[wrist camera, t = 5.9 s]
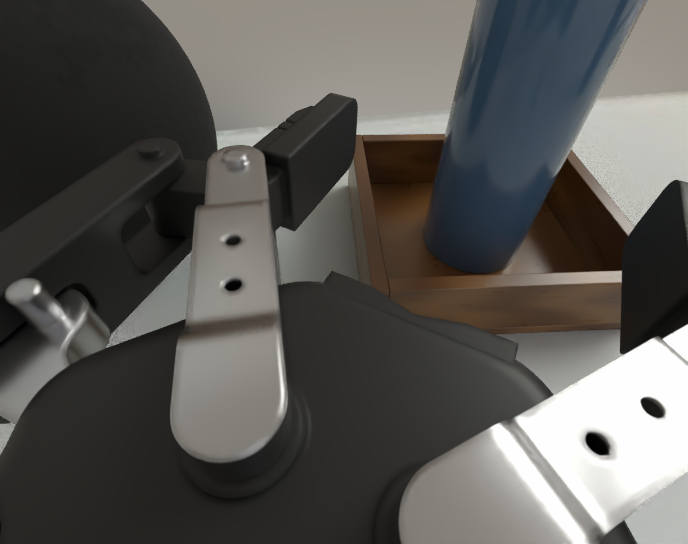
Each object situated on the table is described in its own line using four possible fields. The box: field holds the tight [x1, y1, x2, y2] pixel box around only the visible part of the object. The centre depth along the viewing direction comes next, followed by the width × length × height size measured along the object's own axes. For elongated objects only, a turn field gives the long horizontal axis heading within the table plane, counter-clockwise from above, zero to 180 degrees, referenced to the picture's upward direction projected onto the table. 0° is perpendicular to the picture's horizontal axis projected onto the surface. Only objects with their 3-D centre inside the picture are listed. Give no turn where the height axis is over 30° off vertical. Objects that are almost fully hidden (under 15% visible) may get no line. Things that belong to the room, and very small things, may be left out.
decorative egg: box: [0, 0, 217, 244], centre depth 19 cm, size 12×12×15 cm
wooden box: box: [348, 134, 634, 334], centre depth 24 cm, size 15×14×4 cm
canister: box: [423, 0, 648, 273], centre depth 19 cm, size 6×6×16 cm
